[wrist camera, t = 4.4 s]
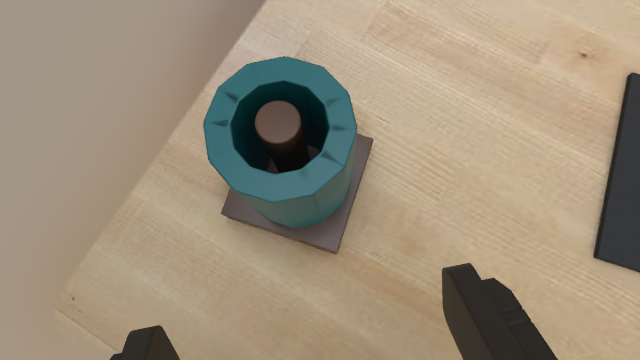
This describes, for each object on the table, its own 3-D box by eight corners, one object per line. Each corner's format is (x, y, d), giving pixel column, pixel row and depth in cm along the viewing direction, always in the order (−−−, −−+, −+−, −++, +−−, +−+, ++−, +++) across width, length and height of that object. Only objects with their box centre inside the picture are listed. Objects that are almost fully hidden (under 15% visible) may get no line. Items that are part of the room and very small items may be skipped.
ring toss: (336, 254, 25) (335, 236, 15) (227, 217, 26) (159, 177, 16) (371, 146, 26) (391, 66, 16) (266, 114, 27) (226, 21, 17)
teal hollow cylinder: (330, 241, 23) (327, 221, 16) (231, 208, 24) (181, 172, 16) (362, 143, 25) (374, 80, 17) (267, 114, 25) (236, 41, 18)
